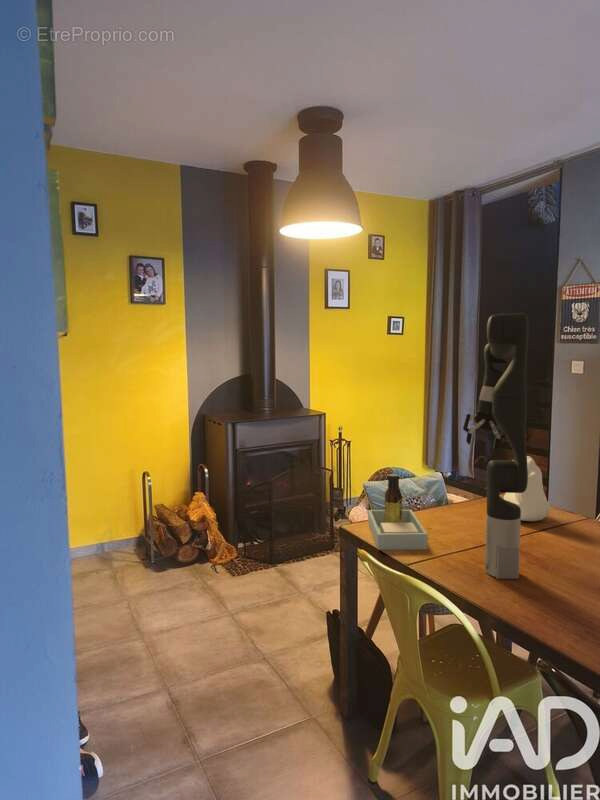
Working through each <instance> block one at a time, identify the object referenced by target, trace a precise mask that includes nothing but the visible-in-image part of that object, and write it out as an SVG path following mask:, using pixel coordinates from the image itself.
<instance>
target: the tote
mask: <svg viewBox="0 0 600 800" xmlns="http://www.w3.org/2000/svg"><path fill="white" fill-rule="evenodd" d="M402 511H403V513H402V523H413V524H414V526H415V527H416V529H417V530H418V533H380V526H381V523H385V509H368V510H367V524H368V527H369V530H370V532H371V534H372V538H373V540H374V543H375V545H376V549H377V550H378V551H379V550H381V551H383V550H385V551H387V550H388V551H389V550H391V551H393V550H394V551H396V550H405V551H406V550H409V551H410V550H428V541H429V540H428V539H429V538H428V537H429V535H428V532H427V531H426V529H425V527H423V525H422V523H421V522H420V521H419V519H418V518H417V516H416V514H415V513H414V512H413V510H412V509H402Z"/></svg>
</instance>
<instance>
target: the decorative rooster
mask: <svg viewBox="0 0 600 800" xmlns="http://www.w3.org/2000/svg"><path fill="white" fill-rule="evenodd" d="M527 468H528V484H527V488H526V490H525V492H523V493H504V496H503V499H504V500H506V501H509V502H512V503H514V504H516V505H518V506H519V507H520V509H521V521H526V522H536V521H537V522H538V521H541V520H543V519H545V517H546V516H548V515H550V513H551V504H550V503H549V502H548V500H547V496H546V494H545V492H544V491H545V490H544V486H543V474H542V470H541V469H540V467H539V466H538V465H537V463H536V462H535V460H534V458H532V456H528V455H527Z"/></svg>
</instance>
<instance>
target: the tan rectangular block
mask: <svg viewBox="0 0 600 800" xmlns="http://www.w3.org/2000/svg"><path fill="white" fill-rule="evenodd" d="M380 533H418V530H417V529H416V527H415V526H414V524H413V523H381V526H380Z"/></svg>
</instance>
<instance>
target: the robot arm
mask: <svg viewBox="0 0 600 800" xmlns="http://www.w3.org/2000/svg"><path fill="white" fill-rule="evenodd" d="M528 317H529V316H528V315H527V314H526V313H524V312H514V313H512V312H508V313H497V314H492V315H490V317H488V320H487V323H486V338H487V342H488V343H486V345H485V347H484V349H483V355H484V356H483V357H484V368H485V369H484V376H483V382H482V388H481V390H480V393H479V394H480V395H479V398H478V404H477V409H476V413H475V415H473V414H470V413H466V415H465V420H464V424H463V427H462V430H463V431H465V432H466V433H467V435H466V440H465V441H466V443H467V445H471V443H472V442H471V441H472V437H473V433H474V432H475V431H476V430H477V429H481V430H485V431H492V432H493V434H494V436H495V438H494V442H493V448H492V449H493V450H494V451H495V450H497V449H498V448H499V445H500V441H501V440H502V439H506V440H507V441H508V443H509V445H510V447H511V450H512V455H513V459H512V460H509V459H507V460H506V459H492V460H491V459H490V461H488V463H487V464H486V474H485V478H486V480H485V481H486V523H485V524H486V525H485V526H486V528H485V529H486V530H485V559H484V560H485V564H484V568H485V569H484V570H485V572H486V574H487V575H489V576H492V577H494V578H496V579H497V580H506V579H508V580H509V579H510V580H515V579H517V580H518V579H519V575H520V572H519V571H520V551H521V550H520V549H521V548H520V547H521V545H520V544H521V521H522V520H521V509H520V507H519V506H518V505H516V504H514V503H512V502H509V501H506V500H504V497H502V496H500V493H504V494H505V493H523V492H525V490H526V488H527V484H528V468H527V456H528V455H527V454H528V453H527V416H528V415H527V412H528V394H527V391H528V390H527V389H528V388H527V387H528V386H527V364H528V362H527V360H528V349H529V348H528V345H529V331H530V328H529V325H530V324H529V323H530V322H529V318H528ZM494 364H497V365H498V364H499V365H505V366H508V367H507V368H506V370H505V371H503V370H502V371H501V370H500V369H496V367H494ZM472 420H474V421H475V424H474V425H472V426H471V427H470V428H468V427H469V423H470V422H471V421H472ZM497 426H498V427H499V429H500V430H501V431H502V432H501V434H500V433H499V431H498V429H497Z"/></svg>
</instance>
